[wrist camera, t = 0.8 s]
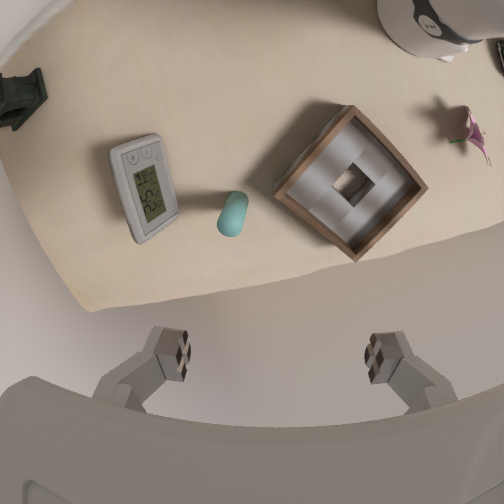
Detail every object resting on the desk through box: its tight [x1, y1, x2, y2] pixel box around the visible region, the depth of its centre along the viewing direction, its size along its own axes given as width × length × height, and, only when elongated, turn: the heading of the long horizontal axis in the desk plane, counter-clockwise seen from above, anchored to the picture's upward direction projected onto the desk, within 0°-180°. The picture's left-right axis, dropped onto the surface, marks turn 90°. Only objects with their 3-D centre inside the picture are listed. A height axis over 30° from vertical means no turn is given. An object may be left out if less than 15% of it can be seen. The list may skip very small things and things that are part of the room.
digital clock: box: [108, 134, 180, 245], centre depth 41 cm, size 16×9×11 cm, turn 177°
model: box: [0, 68, 48, 131], centre depth 30 cm, size 14×9×15 cm, turn 111°
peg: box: [217, 191, 248, 237], centre depth 43 cm, size 4×4×10 cm
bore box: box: [274, 105, 429, 262], centre depth 41 cm, size 18×18×6 cm
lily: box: [450, 106, 491, 166], centre depth 33 cm, size 12×12×10 cm
